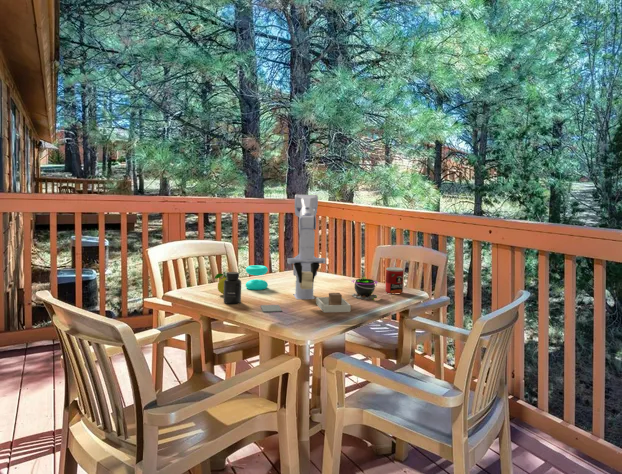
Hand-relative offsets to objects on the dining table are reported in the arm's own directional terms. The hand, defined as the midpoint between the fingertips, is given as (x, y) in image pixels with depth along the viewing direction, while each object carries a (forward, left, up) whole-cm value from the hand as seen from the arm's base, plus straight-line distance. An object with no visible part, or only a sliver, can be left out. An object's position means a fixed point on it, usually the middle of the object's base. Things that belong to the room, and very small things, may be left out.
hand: (306, 282), depth 193 cm
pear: (-25, -30, -10) cm, 41 cm away
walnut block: (+6, +10, -9) cm, 15 cm away
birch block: (0, 0, -2) cm, 2 cm away
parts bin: (+3, +10, -10) cm, 14 cm away
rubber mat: (+1, -12, -10) cm, 16 cm away
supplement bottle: (-11, -27, -10) cm, 31 cm away
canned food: (-23, +45, -10) cm, 51 cm away
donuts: (-38, -15, -10) cm, 42 cm away
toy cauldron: (-14, +28, -10) cm, 33 cm away
